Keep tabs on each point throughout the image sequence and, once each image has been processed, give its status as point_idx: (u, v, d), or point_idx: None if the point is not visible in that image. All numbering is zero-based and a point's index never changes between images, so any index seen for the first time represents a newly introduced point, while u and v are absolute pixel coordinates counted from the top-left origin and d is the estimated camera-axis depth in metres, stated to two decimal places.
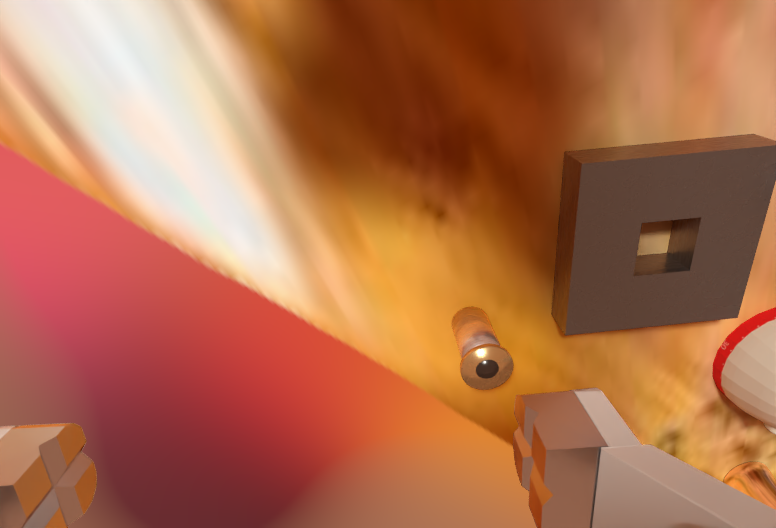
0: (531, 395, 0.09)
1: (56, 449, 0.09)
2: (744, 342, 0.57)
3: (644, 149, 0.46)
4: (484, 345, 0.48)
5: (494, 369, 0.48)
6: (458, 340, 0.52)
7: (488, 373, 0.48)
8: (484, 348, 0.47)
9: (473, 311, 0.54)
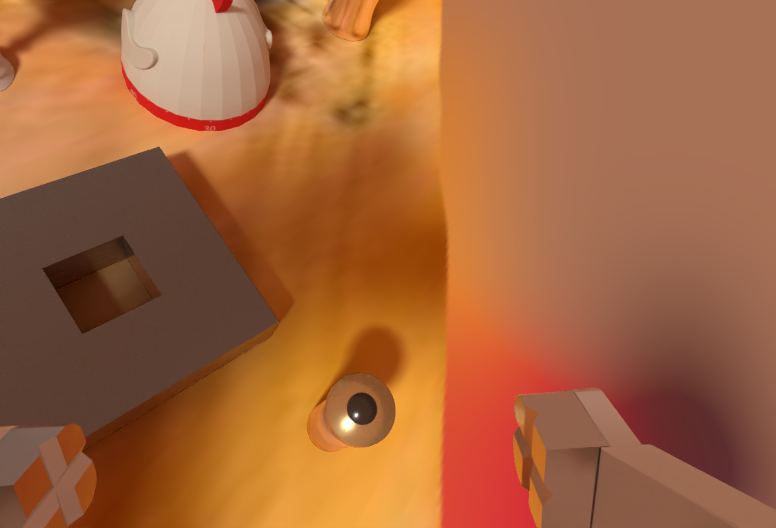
0: (531, 395, 0.09)
1: (56, 449, 0.09)
2: (192, 115, 0.47)
3: None
4: (334, 433, 0.34)
5: (358, 398, 0.35)
6: None
7: (366, 403, 0.35)
8: (337, 433, 0.34)
9: (313, 437, 0.40)
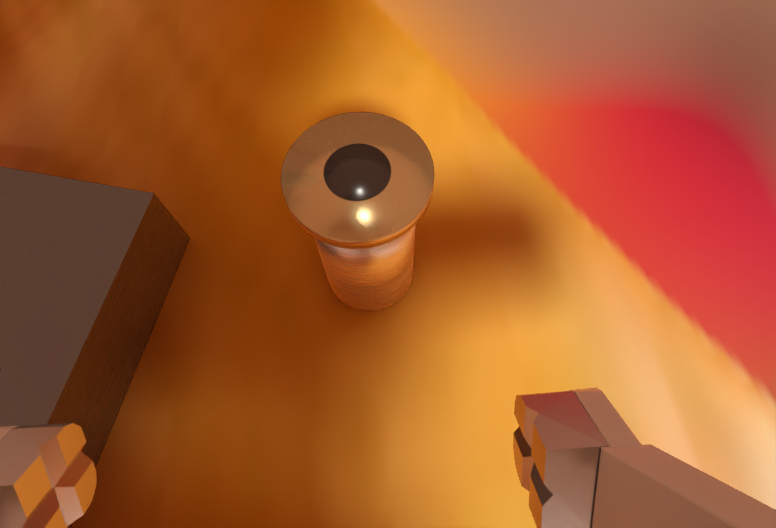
0: (531, 395, 0.09)
1: (56, 449, 0.09)
2: None
3: None
4: (346, 245, 0.16)
5: (338, 163, 0.17)
6: (410, 252, 0.20)
7: (357, 158, 0.17)
8: (348, 238, 0.16)
9: (355, 302, 0.22)
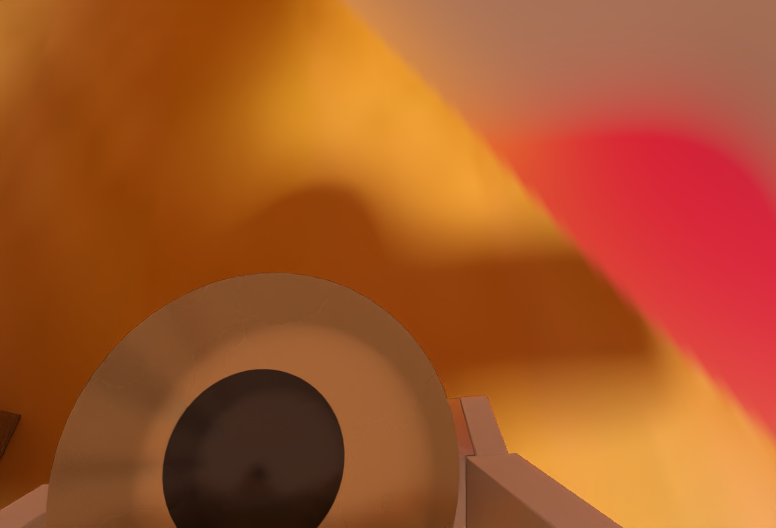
0: None
1: None
2: None
3: None
4: None
5: (206, 428, 0.06)
6: None
7: (256, 416, 0.06)
8: None
9: None
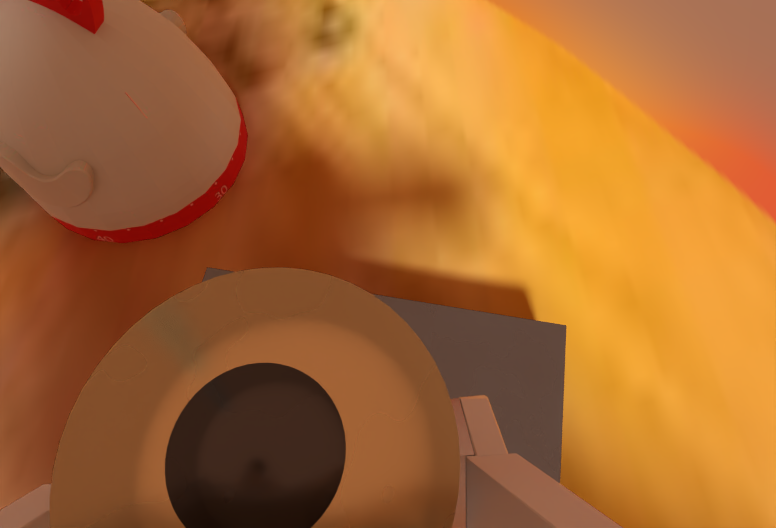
0: None
1: None
2: (191, 196, 0.30)
3: None
4: None
5: (208, 421, 0.06)
6: None
7: (258, 409, 0.06)
8: None
9: None
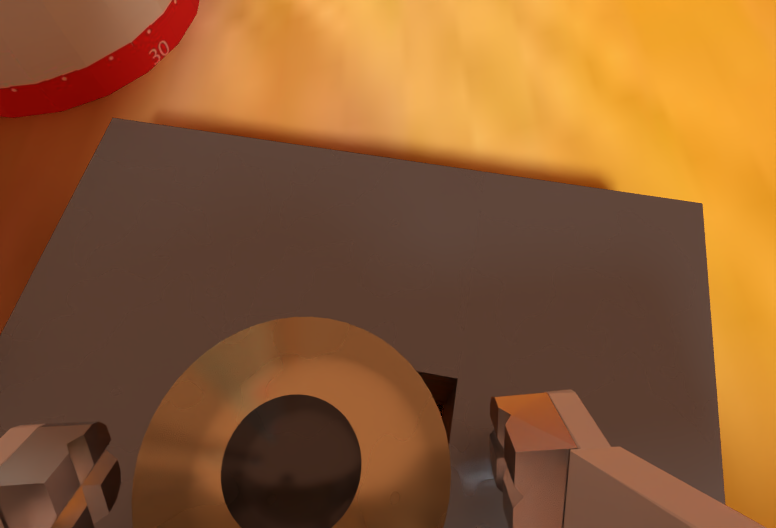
0: (505, 397, 0.09)
1: (83, 447, 0.09)
2: (109, 42, 0.20)
3: None
4: None
5: (253, 441, 0.08)
6: None
7: (292, 431, 0.08)
8: None
9: None
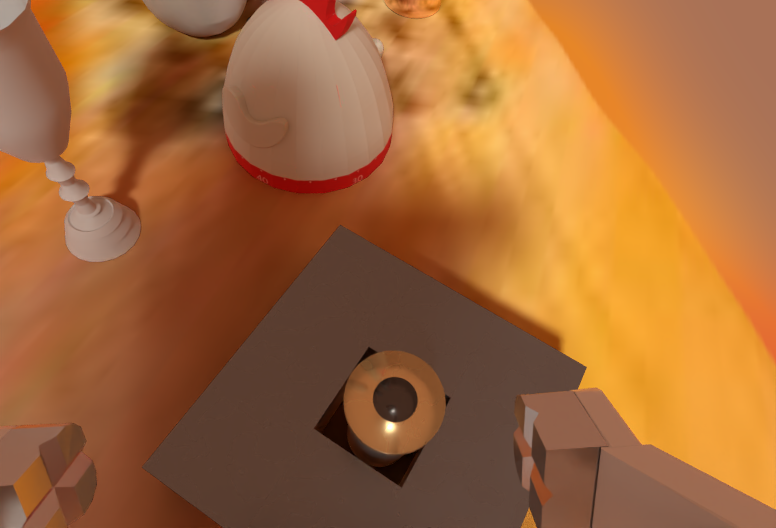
0: (531, 395, 0.09)
1: (56, 449, 0.09)
2: (339, 173, 0.39)
3: None
4: (371, 448, 0.24)
5: (384, 387, 0.25)
6: None
7: (398, 389, 0.25)
8: (374, 447, 0.24)
9: (361, 457, 0.30)
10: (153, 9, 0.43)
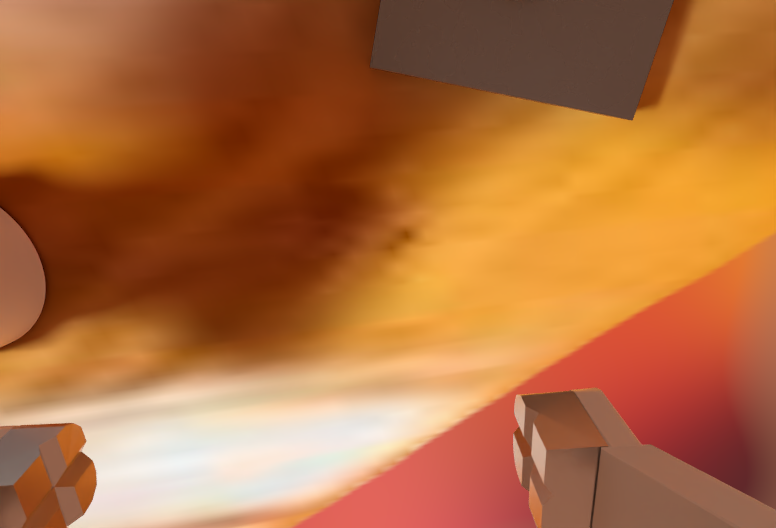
0: (531, 395, 0.09)
1: (56, 449, 0.09)
2: None
3: None
4: None
5: None
6: None
7: None
8: None
9: None
10: None
